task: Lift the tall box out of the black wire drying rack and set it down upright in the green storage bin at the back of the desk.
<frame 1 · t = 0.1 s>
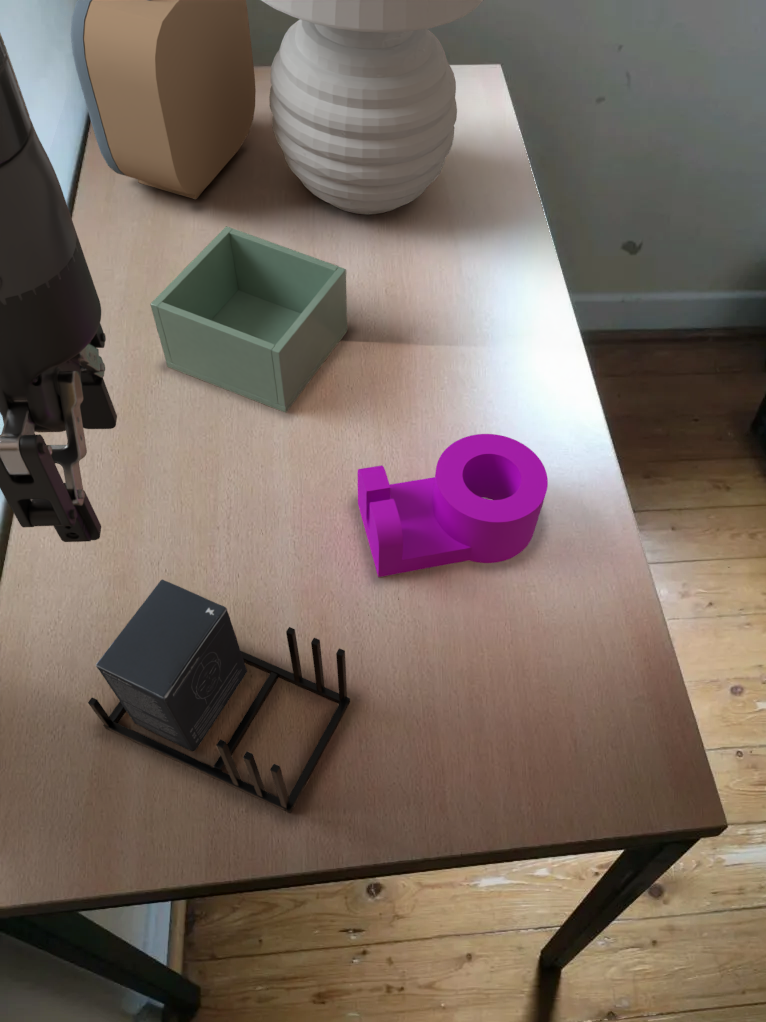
hand: (91, 478, 49), 21 cm above the table, tool pointing down, fingers open, 8 cm apart
box: (192, 698, 64), resting in rack
table lamp: (364, 189, 101), on the table
green storage bin: (260, 348, 84), on the table
rack: (230, 715, 63), on the table
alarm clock: (190, 167, 100), on the table
magenta mechanical bracket: (451, 526, 75), on the table
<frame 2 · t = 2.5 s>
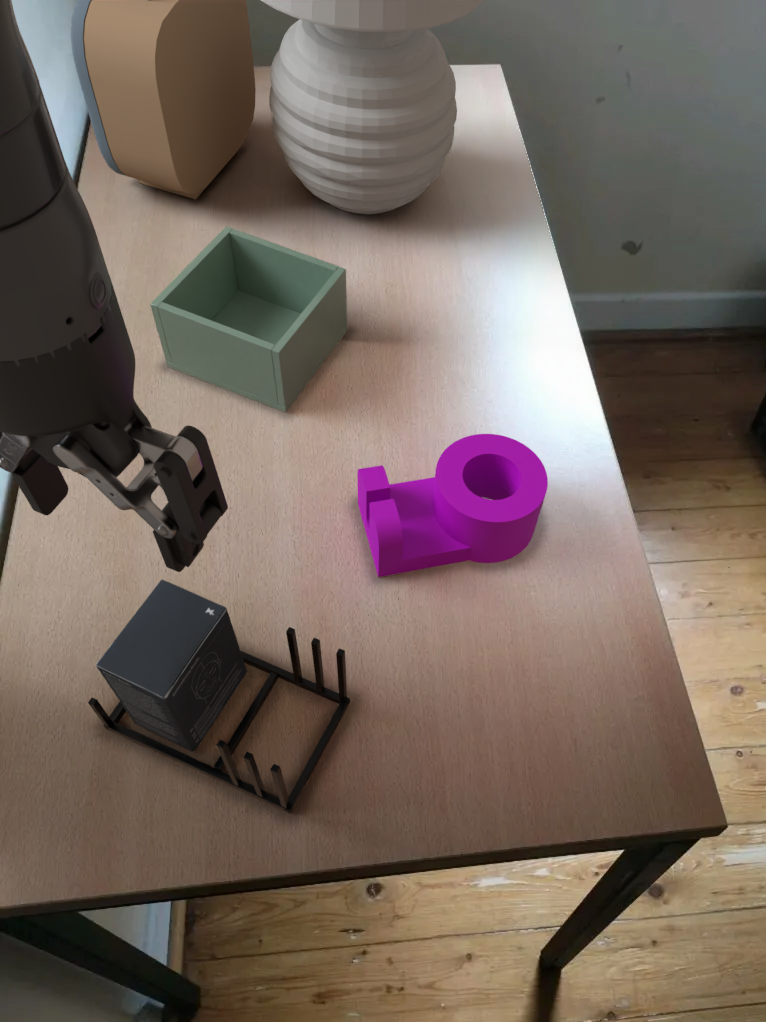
hand: (118, 530, 45), 22 cm above the table, tool pointing down, fingers open, 8 cm apart
nothing on the table moved.
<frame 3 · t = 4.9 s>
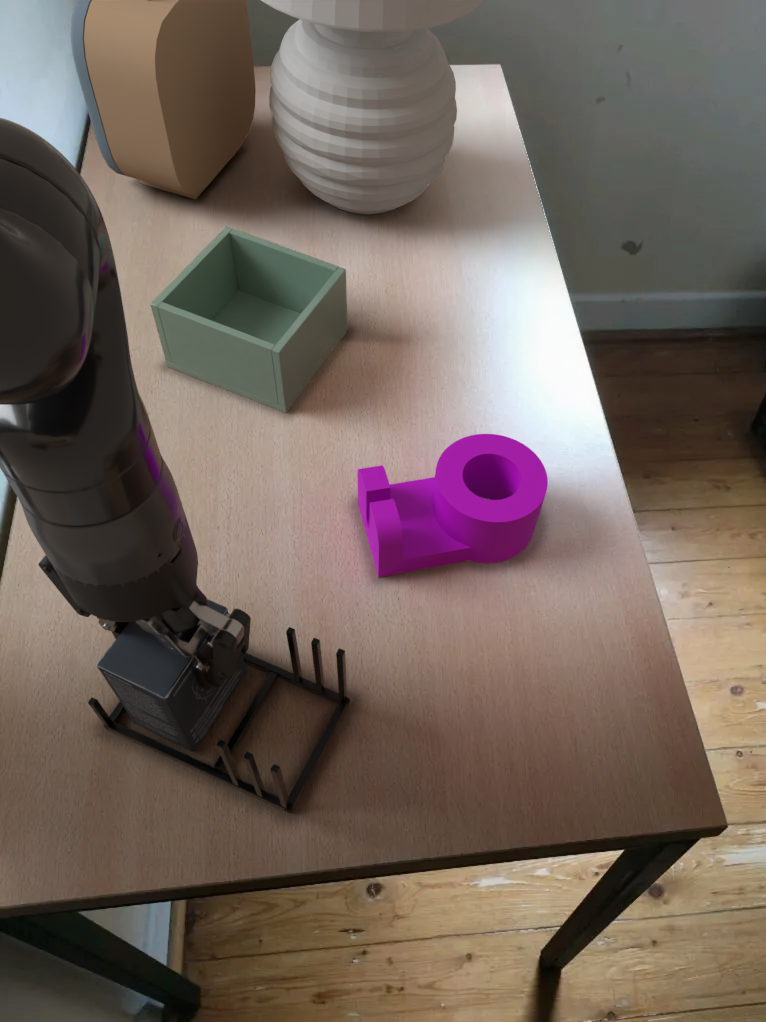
hand: (175, 661, 58), 7 cm above the table, tool pointing down, fingers closed on box, 5 cm apart
box: (192, 698, 64), resting in rack, touching gripper
everything else where it was.
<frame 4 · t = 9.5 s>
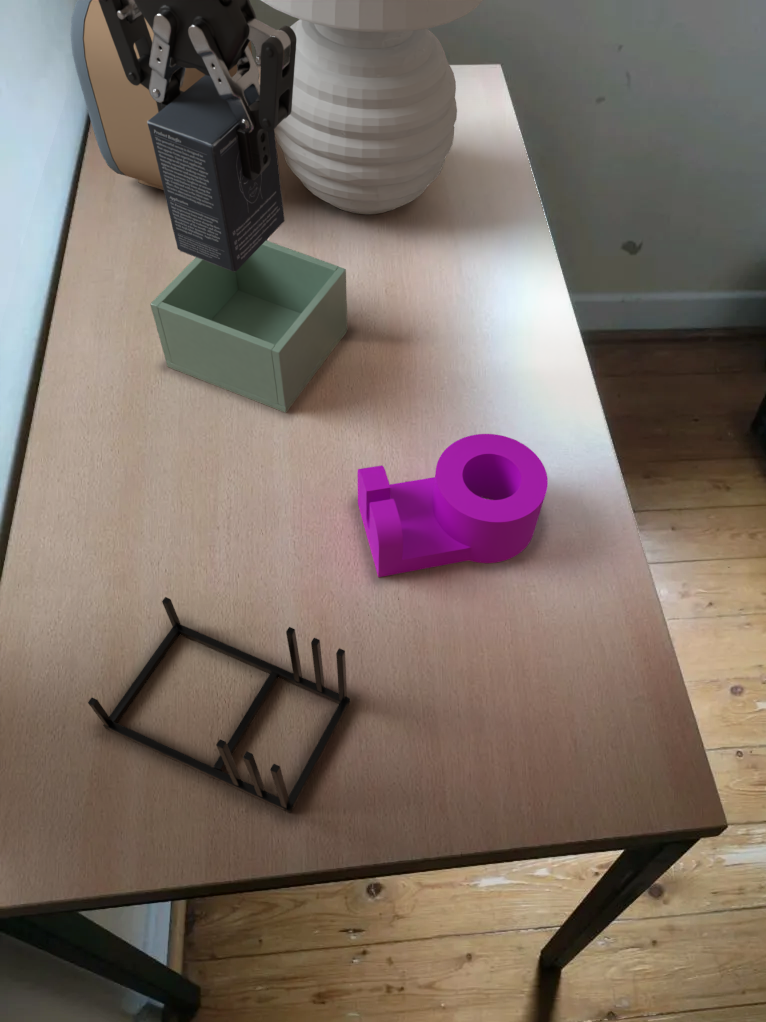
hand: (219, 160, 61), 24 cm above the table, tool pointing down, fingers closed on box, 5 cm apart
box: (232, 239, 67), point 17 cm above the table, touching gripper
everything else where it was.
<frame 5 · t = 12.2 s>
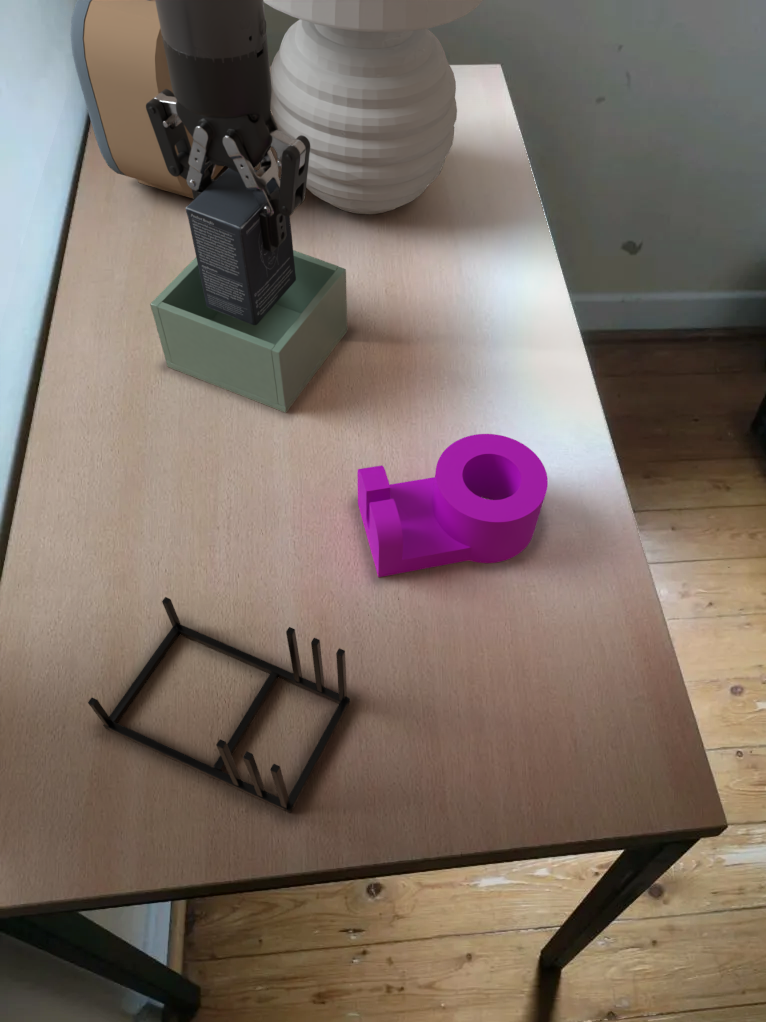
hand: (243, 234, 73), 13 cm above the table, tool pointing down, fingers closed on box, 5 cm apart
box: (252, 296, 79), point 7 cm above the table, touching gripper
everything else where it was.
when the fingers open (7 cm above the table, at t = 14.1 s): box stays where it is, resting on green storage bin.
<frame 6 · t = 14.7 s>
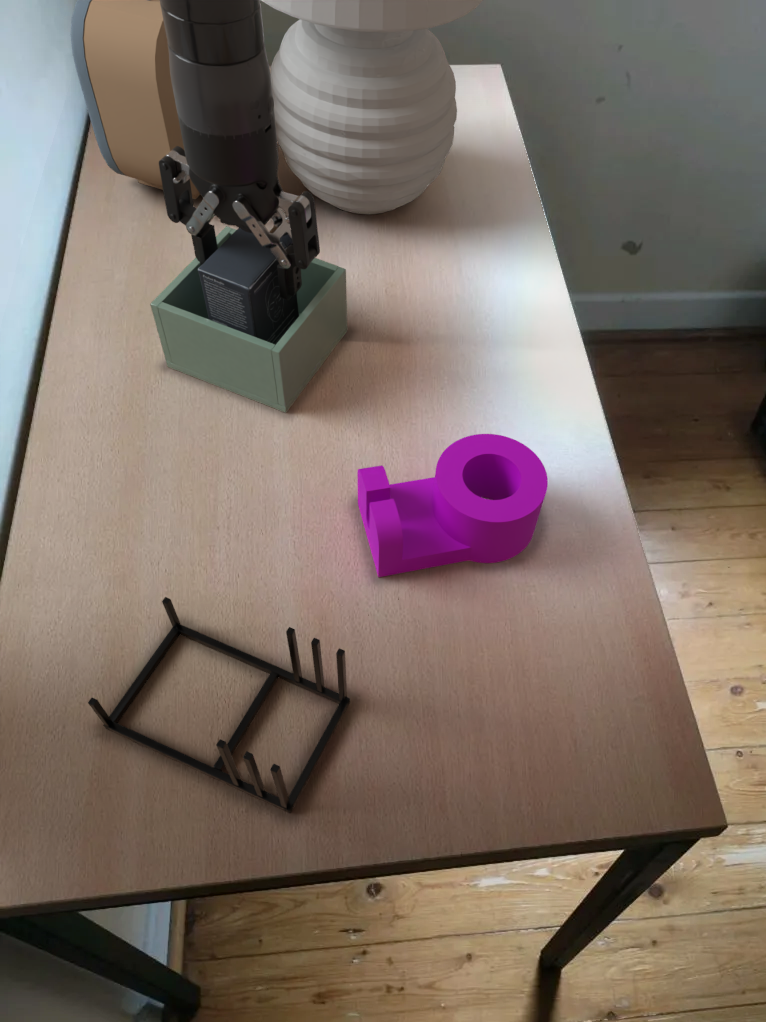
hand: (250, 279, 77), 8 cm above the table, tool pointing down, fingers open, 8 cm apart
box: (259, 344, 84), point 1 cm above the table, touching green storage bin
everything else where it was.
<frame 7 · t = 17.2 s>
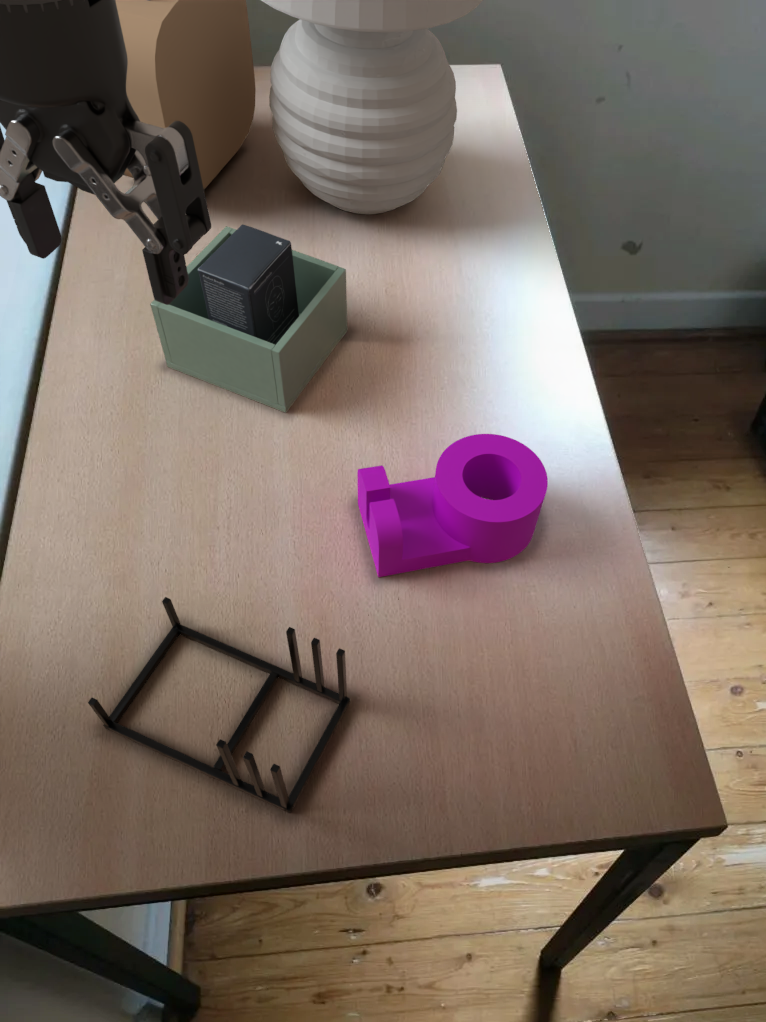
hand: (108, 272, 49), 27 cm above the table, tool pointing down, fingers open, 8 cm apart
nothing on the table moved.
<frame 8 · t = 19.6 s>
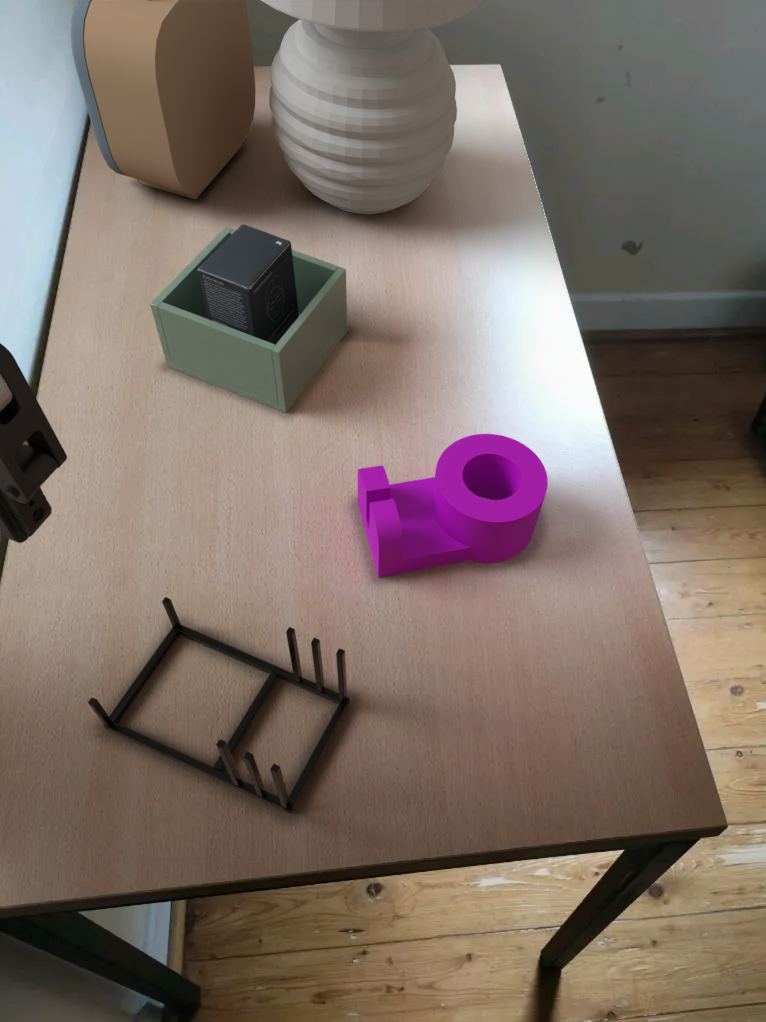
nothing on the table moved.
at the end: box inside the target area in the green storage bin (0.1 cm from its centre), point 0.6 cm above the green storage bin's base; box tilted 0°; the gripper is holding nothing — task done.
